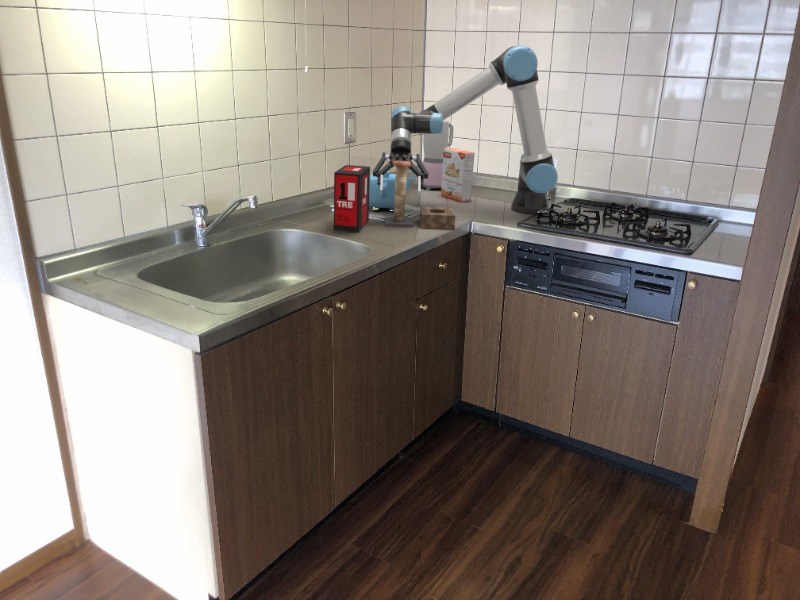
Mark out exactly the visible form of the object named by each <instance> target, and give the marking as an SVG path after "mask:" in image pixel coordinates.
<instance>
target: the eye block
mask: <svg viewBox="0 0 800 600" xmlns="http://www.w3.org/2000/svg"><path fill="white" fill-rule="evenodd" d="M419 224H420V228H421V229H436V230H438V229H439V230H455V229H456V228H455V224H456V214H455V212H454V209H453V208H452V207H438V206H437V207H435V206H434V207H431V206H420V207H419Z"/></svg>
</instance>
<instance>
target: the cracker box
mask: <svg viewBox="0 0 800 600" xmlns="http://www.w3.org/2000/svg"><path fill="white" fill-rule="evenodd" d="M475 154H476V153H475V152H473V151H469V150H465V149H460V148H456V147H455V148H454V147H447V148H445V149H444V154H443V170H442V185H441V188H440V196H441V197H445V198H447V199H450V200H454V201H457V202H459V203H465V202H469V201H470V202H471V199H472V187H473V177H474V163H475Z"/></svg>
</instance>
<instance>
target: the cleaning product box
mask: <svg viewBox="0 0 800 600" xmlns="http://www.w3.org/2000/svg"><path fill="white" fill-rule="evenodd" d="M333 173H334V174H333V231H336V232H337V231H338V232H349V233H350V232H351V233H352V232H353V233H360V232H361V230H362V229H363V228H364V227H365V226H366V224H368V222H369V221H370V220H369V219H370V216H369V215H370V213H369V211H370V207H369V189H370V177H371V167H370V166H368V165H367V166H364V165H353V164H351V165H350V164H345V165H343V166H342V167H340V168H338V170H336V171H333Z"/></svg>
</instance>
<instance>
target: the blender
mask: <svg viewBox="0 0 800 600" xmlns="http://www.w3.org/2000/svg"><path fill="white" fill-rule="evenodd" d="M422 138H423V139H422V141H423V143H422V145H423V154H424V155H423V156H424V157H423V161H422V163H423V165H424V166H425V168H426V170H427V172H428V173H429V174H428V179H424V184H423V187H422V188H425V190H426V191H431V189H441V185H442V170H443V154H444V149H445V148H449V147H450V146H452V144H453V139H454V126H453V124H451V123H450V122H449V120H447V119H445V120H444V121H443V131H442V133H436V134H423V137H422Z"/></svg>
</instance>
